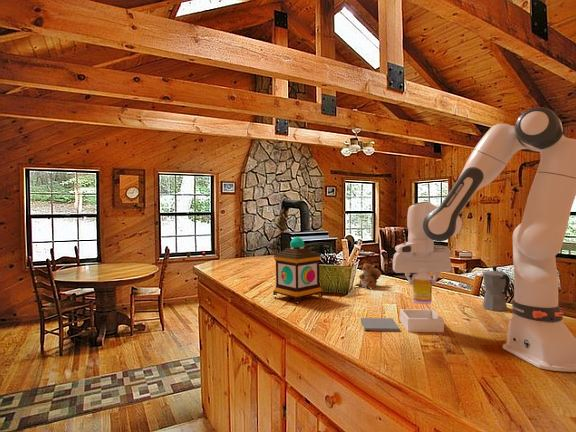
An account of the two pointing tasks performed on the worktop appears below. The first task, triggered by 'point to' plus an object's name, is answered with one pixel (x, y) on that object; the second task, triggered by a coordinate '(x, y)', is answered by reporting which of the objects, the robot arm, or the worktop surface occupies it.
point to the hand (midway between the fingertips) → (422, 284)
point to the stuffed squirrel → (369, 276)
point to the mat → (380, 324)
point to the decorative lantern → (297, 271)
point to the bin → (421, 320)
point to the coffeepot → (495, 290)
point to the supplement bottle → (422, 287)
